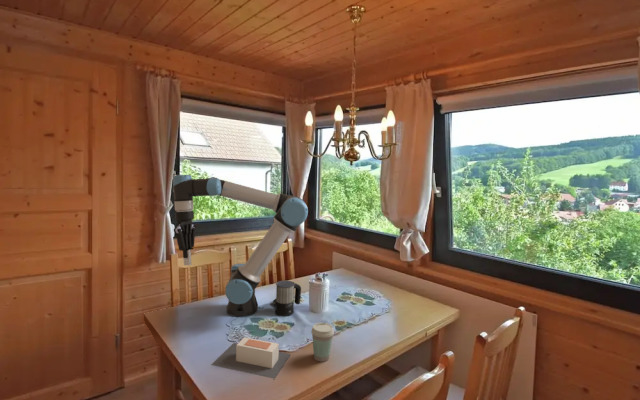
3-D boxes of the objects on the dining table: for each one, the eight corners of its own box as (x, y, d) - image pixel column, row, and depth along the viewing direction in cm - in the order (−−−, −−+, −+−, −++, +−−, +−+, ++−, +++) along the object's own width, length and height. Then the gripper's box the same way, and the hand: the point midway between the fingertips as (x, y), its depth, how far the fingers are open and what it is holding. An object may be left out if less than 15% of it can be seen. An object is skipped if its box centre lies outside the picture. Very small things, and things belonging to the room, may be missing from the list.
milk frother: (286, 318, 160) (287, 288, 159) (260, 310, 168) (261, 281, 167) (302, 308, 173) (304, 280, 171) (278, 301, 181) (279, 274, 179)
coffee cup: (331, 351, 133) (333, 322, 132) (333, 364, 125) (334, 332, 123) (310, 350, 133) (311, 321, 132) (310, 363, 124) (311, 332, 123)
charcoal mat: (211, 366, 120) (211, 364, 120) (233, 344, 135) (233, 342, 135) (274, 380, 114) (274, 378, 114) (290, 355, 129) (290, 353, 129)
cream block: (236, 344, 122) (272, 351, 119) (244, 336, 128) (278, 343, 124) (236, 360, 123) (271, 368, 119) (243, 352, 128) (278, 359, 125)
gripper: (185, 209, 153) (189, 261, 154) (166, 212, 140) (170, 268, 141) (200, 209, 151) (203, 261, 152) (182, 211, 139) (186, 268, 140)
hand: (187, 264), depth 147 cm, fingers closed
